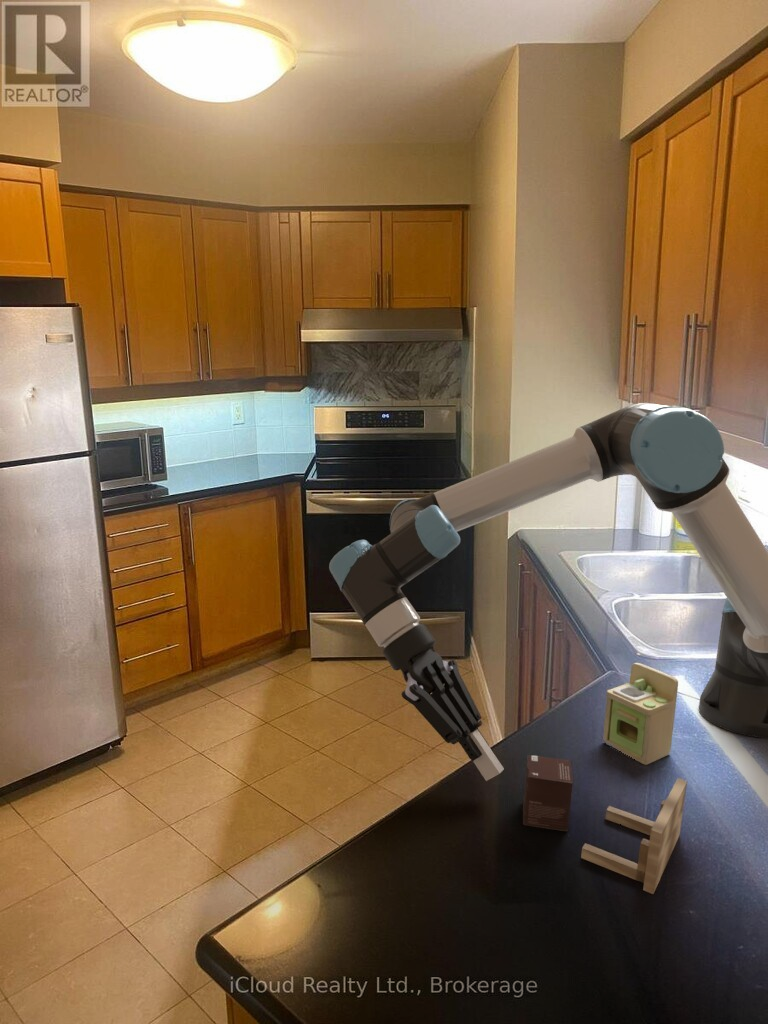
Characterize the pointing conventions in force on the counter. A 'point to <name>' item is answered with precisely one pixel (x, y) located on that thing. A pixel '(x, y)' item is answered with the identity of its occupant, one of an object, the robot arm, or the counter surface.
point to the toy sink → (642, 714)
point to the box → (547, 793)
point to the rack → (645, 840)
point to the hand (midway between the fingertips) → (495, 774)
